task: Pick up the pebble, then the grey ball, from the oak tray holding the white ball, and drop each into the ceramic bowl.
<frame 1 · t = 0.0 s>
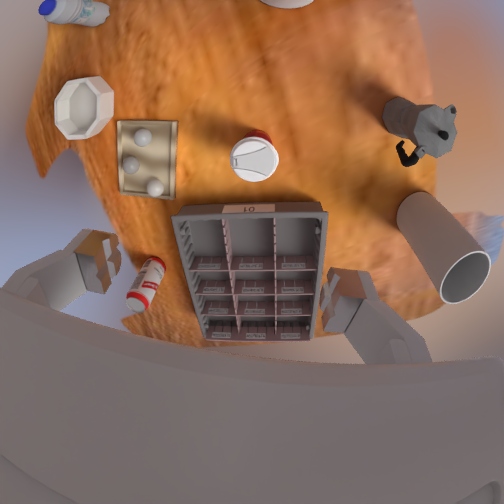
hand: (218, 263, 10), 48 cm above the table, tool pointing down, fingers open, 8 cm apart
grey ball 2: (134, 162, 56), resting on oak tray
paper cup: (258, 142, 53), on the table
white ball 3: (158, 184, 59), resting on oak tray
cylinder vase: (416, 213, 59), on the table
ceramic bowl: (89, 105, 48), on the table
oak tray: (147, 158, 56), on the table
bottle: (101, 15, 35), on the table
organizer tray: (255, 267, 72), on the table
beer can: (156, 264, 73), on the table
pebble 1: (146, 135, 52), resting on oak tray
coffeepot: (397, 120, 47), on the table
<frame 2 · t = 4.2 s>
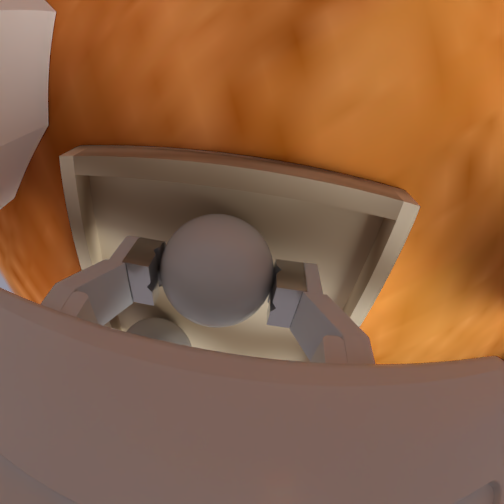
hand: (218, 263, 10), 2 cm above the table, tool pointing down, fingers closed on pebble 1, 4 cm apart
grey ball 2: (166, 326, 15), resting on oak tray
oak tray: (218, 318, 15), on the table
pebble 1: (224, 239, 11), resting on oak tray, touching gripper
when the fingers open (6 cm above the table, at t = 7.8 s): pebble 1 drops 3 cm, resting on ceramic bowl.
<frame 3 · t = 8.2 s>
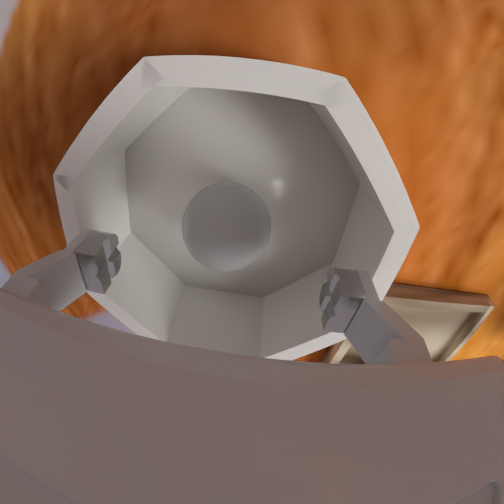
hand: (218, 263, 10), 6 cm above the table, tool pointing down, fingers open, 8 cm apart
ceramic bowl: (235, 200, 15), on the table
oak tray: (389, 357, 22), on the table
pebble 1: (234, 208, 14), point 1 cm above the table, touching ceramic bowl
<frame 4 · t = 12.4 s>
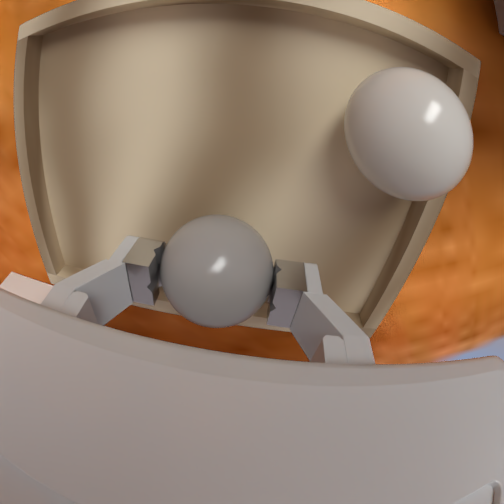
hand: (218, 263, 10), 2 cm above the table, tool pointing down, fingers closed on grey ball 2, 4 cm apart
grey ball 2: (225, 240, 11), resting on oak tray, touching gripper
white ball 3: (385, 121, 8), resting on oak tray
ceramic bowl: (62, 338, 19), on the table
oak tray: (208, 163, 10), on the table
when the fingers open (6 cm above the table, at t = 16.1 s): grey ball 2 drops 2 cm and tips over, resting on ceramic bowl.
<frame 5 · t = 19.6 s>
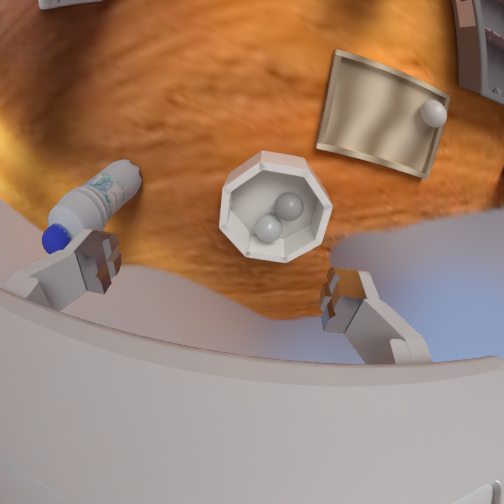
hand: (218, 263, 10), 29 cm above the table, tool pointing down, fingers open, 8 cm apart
grey ball 2: (283, 211, 39), point 2 cm above the table, tilted 51°, touching ceramic bowl
white ball 3: (426, 111, 29), resting on oak tray
ceramic bowl: (274, 199, 40), on the table
oak tray: (386, 115, 31), on the table
bottle: (128, 174, 39), on the table
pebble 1: (273, 217, 38), point 3 cm above the table, tilted 99°, touching ceramic bowl
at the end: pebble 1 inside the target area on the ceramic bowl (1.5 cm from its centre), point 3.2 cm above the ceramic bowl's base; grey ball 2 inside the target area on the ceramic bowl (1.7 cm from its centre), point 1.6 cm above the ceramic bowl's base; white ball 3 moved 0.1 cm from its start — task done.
